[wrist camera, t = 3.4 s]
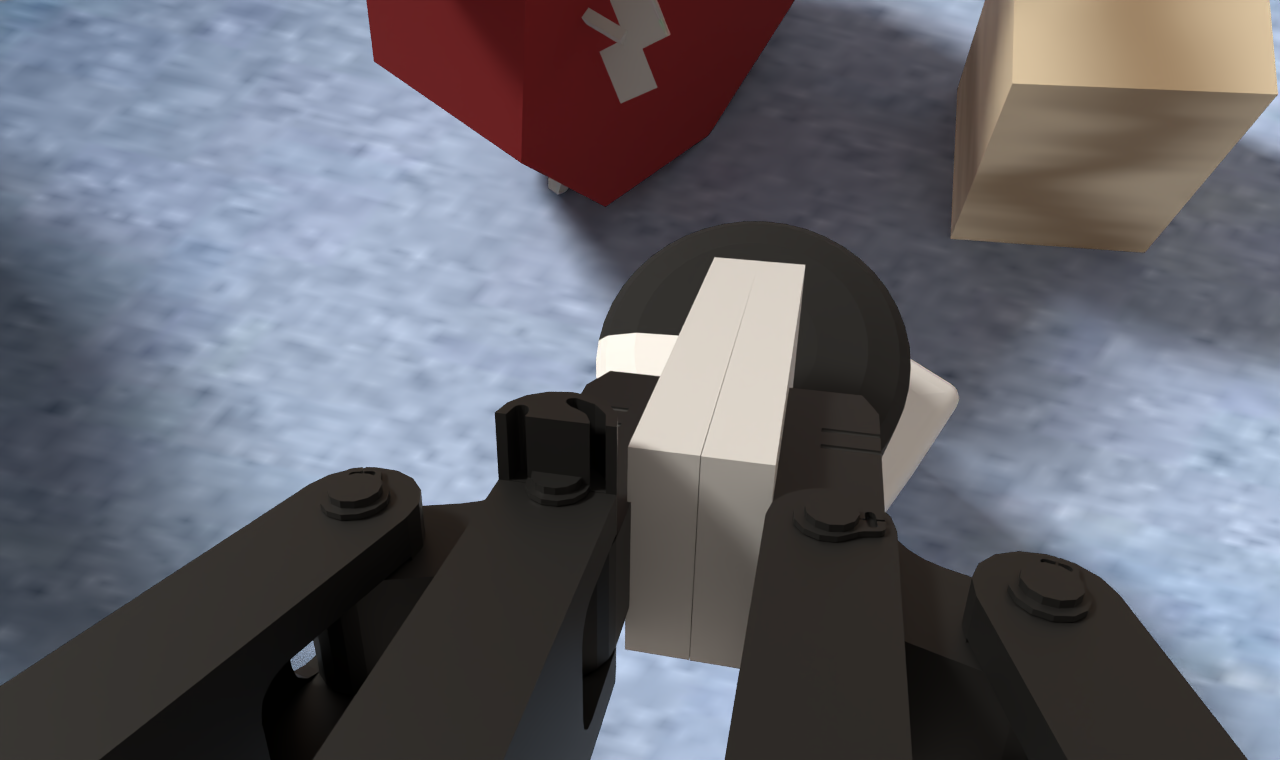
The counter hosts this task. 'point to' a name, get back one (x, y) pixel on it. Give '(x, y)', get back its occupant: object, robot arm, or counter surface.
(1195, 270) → the counter surface
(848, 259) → the medicine bottle
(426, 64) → the alarm clock
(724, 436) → the robot arm
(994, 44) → the beech block
